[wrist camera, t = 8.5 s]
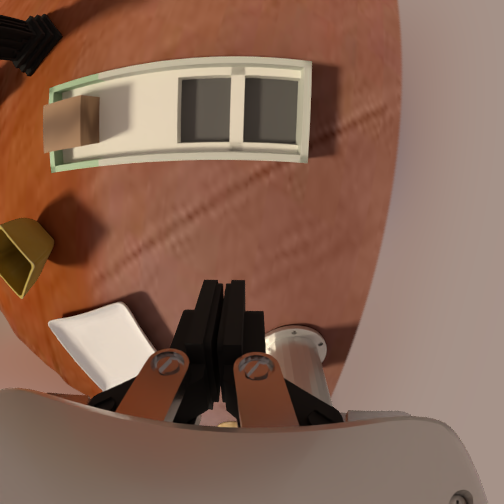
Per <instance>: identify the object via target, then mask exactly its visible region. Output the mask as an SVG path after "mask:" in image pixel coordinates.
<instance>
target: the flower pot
mask: <svg viewBox="0 0 504 504" xmlns="http://www.w3.org/2000/svg"><path fill="white" fill-rule="evenodd" d="M53 246H54V239H53V238H52V237H51V236H50V235H49V234H48V233H47V232H46V231H45V230H44V228H43V227H42V226H41V225H40V224H39V223H38V222H37V221H35V220H33V219H30V218H19V219H15V220H12V221H9V222H6V223H4V224H1V225H0V276H1V277H2V278H3V279H4V281H5V282H6V283H7V284H8V285H9V286H10V288H11V289H12V290H13V291H14V292H15V293H16V294H17V295H18V296H19V297H20V298H21V299H23V297H24V296H25V295H26V293H27V292H28V291H29V290H30V288H31V287H32V286H33V284H34V283H35V282H36V281H37V279H38V277H39V276H40V274H41V272H42V270H43V267H44V265H45V263H46V261H47V259H48V257H49V255H50V253H51V251H52V249H53Z"/></svg>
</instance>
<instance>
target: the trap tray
mask: <svg viewBox="0 0 504 504" xmlns="http://www.w3.org/2000/svg"><path fill="white" fill-rule="evenodd" d="M311 81H312V61H304V60H295V59H284V58H270V57H242V56H229V57H201V58H187V59H176V60H167V61H160V62H152V63H146V64H140V65H134V66H129V67H124V68H119V69H114V70H110V71H106V72H101V73H97V74H94V75H90V76H86V77H83V78H79V79H76V80H73V81H69V82H66V83H63V84H60V85H57V86H55V87H52V88H50V91H49V104H51V103H54V102H57V101H60V100H64V99H68V98H71V97H75V96H79V95H86V96H95V97H100V106H99V143H96V144H90V145H85V146H80V147H74V148H68V149H63V150H57V151H52V152H50V163H51V173H53V172H60V171H66V170H73V169H80V168H88V167H97V166H106V165H116V164H127V163H140V162H155V161H176V160H262V161H284V162H300V163H308V148H309V131H310V110H311Z"/></svg>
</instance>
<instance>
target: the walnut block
mask: <svg viewBox="0 0 504 504" xmlns="http://www.w3.org/2000/svg"><path fill="white" fill-rule="evenodd" d="M99 106H100V97H95V96H86V95H79V96H75V97H71V98H68V99H64V100H60V101H57V102H54V103H51V104H47V105H44V107H43V140H44V153H47V152H52V151H57V150H63V149H68V148H74V147H80V146H85V145H90V144H96V143H99Z"/></svg>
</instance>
